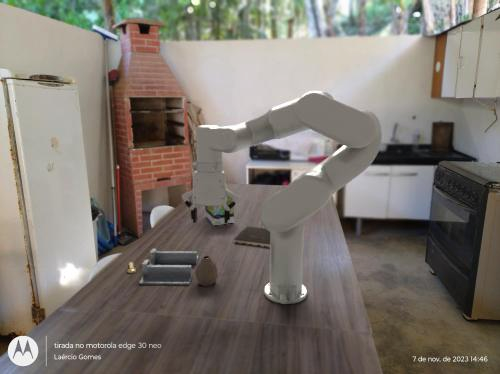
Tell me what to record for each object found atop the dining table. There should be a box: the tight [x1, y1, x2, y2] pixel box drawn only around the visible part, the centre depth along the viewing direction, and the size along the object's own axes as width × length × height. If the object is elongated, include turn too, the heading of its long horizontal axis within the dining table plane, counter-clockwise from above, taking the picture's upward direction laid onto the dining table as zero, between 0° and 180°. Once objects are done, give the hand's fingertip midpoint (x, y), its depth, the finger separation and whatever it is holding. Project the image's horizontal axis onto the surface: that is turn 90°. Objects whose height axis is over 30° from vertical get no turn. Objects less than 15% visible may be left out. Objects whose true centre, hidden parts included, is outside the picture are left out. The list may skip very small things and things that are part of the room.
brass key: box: [127, 261, 137, 274], centre depth 128 cm, size 7×3×1 cm, turn 19°
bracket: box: [138, 248, 200, 286], centre depth 126 cm, size 20×16×5 cm
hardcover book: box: [233, 225, 270, 248], centre depth 153 cm, size 16×23×2 cm
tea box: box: [204, 188, 235, 226], centre depth 175 cm, size 15×10×15 cm, turn 22°
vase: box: [195, 255, 219, 287], centre depth 117 cm, size 7×7×9 cm
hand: (210, 221), depth 116 cm, fingers open, 9 cm apart
